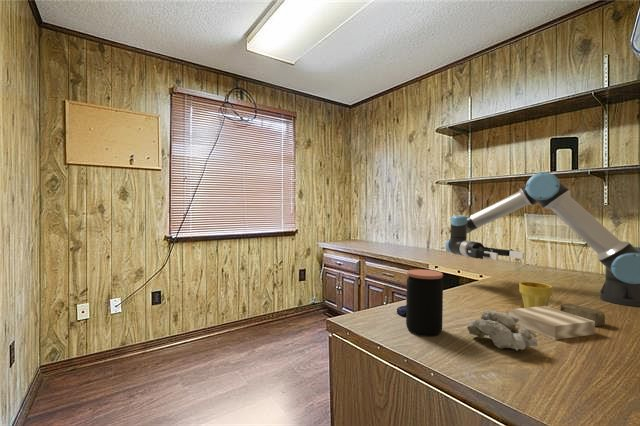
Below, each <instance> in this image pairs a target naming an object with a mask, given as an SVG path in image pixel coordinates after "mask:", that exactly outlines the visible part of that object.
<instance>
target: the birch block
mask: <svg viewBox="0 0 640 426" xmlns="http://www.w3.org/2000/svg"><path fill="white" fill-rule="evenodd" d="M508 315H509V316H511V317H515V318H518V319H519V321H518V322H517V323H516V326H519V327H520V326H523V327H526V328H528V329H529V330H531V331H532V332H534V333H537V334H540V335H541V336H545V337H546V338H550V339H552V340H554V341H555V340H563V339H569V338H571V339H572V338H577V337H578V338H579V337H585V336H591V335H592V336H593V335H595V331H596V330H595V327H596V326H595V321H592V320H589V319H586V318H582V317H579V316H576V315H573V314H569V313H566V312H563V311H560V309H556V308H553V307H549V306H539V307H528V308H525V307H521V308H512V309H511V308H509V309H508Z"/></svg>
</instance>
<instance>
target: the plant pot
mask: <svg viewBox="0 0 640 426" xmlns="http://www.w3.org/2000/svg"><path fill="white" fill-rule="evenodd" d="M518 286H519V289H518V290H519V293H520V294H521V297H522V303H523V306H524V307H523V308H528V307H539V306H547V307H549V306H548V305H549V303H550V299H551V297H552V296H553V286H552V285H550V284H547V283H545V282H544V283H542V282H536V281H521V282H519V285H518Z"/></svg>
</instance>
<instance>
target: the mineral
mask: <svg viewBox="0 0 640 426" xmlns="http://www.w3.org/2000/svg"><path fill="white" fill-rule="evenodd" d="M518 321H519V319H518V318H515V317H511V316H509V314H507V313H506V312H503V311H502V312H501V311H500V312H499V311H498V310H497V311H496V310H493V309H491V310H490V309H485V310H483V311H482V314H481V317H480V318H478V319H473V320H471V322H470V323H469V324H468V325H467V327H466V328H467V330H468V334H469V335H473V336H477V337H478V338H479V339H481V340H482V339H484V338H485V336H489V338H490V339H491V341H492V343H493V344H494V346H495V347H497V349H500V350H503V349H506V348H507V349H509V348H510V349H512V350H516V351H517V352H519V350H525V349H526V347H537V346H538V345H539V344H538V340H537V334H536V332H534V331H532V330H529V329H528V328H526V327H523V326H519V327H516V326H517V324H516V323H517V322H518Z"/></svg>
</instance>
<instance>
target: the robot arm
mask: <svg viewBox="0 0 640 426" xmlns="http://www.w3.org/2000/svg"><path fill="white" fill-rule="evenodd" d="M570 194H571V191H570V189H569V188H568V187H567V186H566V185H565V184H563V183H562V182H561V180H559V178H558V177H557V176H556V175H555V174H553V173H551V172H545V171H544V172H543V171H542V172H538V173H535V174H533V175H531V177H529V179H528V180H527V182H526V184H525V185H524V186H522V187H520V188H519V190H518V191H517V192H515V193H513V194H511V195H509V196H507V197H505V198H503V199H501V200H499V201H497V202H494V203H493V204H490V205H489V206H486V207H485V208H483V209H481V210H478V211H477V212H474V213H473V214H471V215H468V216H465V215H452V216H451V218H450V238H449V239H447V240H446V242H445V249H446V251H447V252H449V253H450V254H454V255H457V256H464V257H466V258H467V259H469V258H472V259H477V260H478V259H480V260H483V259H489V260H493V261H498V259H499V256H502V257H503V256H504V257H509V258H514V259H519V260H525V252H522V251H516V250H514V249H513V248H510V249H501V248H494V247H488V246H484V245H483V243H481V242H478V241H472V240H467V236H468V234H469V233H472V232H473V231H475V230H477V229H479V228H481V227H483V226H485V225H487V224H489V223H491V222H494V221H497V220H498V219H500V218H503V217H504V216H506V215H509V214H511V213H513V212H515V211H517V210H520V209H523V208H524V207H526V206H533V205H536V204H539V205H540V206H541V207H542V208H543V209H545V210H547V209H548V210H551V211H552V212H553V213H554V214H555V215H556V216H557V217H558V218H559V219H560V220H561V221H563V222H564V224H566V225H567V227H569V228H570V229H571V230H572V231H573V232H574V233H576V235H577V236H578V237H579V238H581V240H583V241H584V242H585V243H586V244H587V245H588V246H589V247H590V248H591V249H592V250H594V252H596V253H597V255H598V257H597V260H598V261H599V262H600V263H601V264H603V266H604V267H605V275H604V276H605V278H604V280H605V281H604V282H603V285H602V288H601V289H600V291H599V299H601V300H602V301H605V302H609V303H612V304H617V305H623V306H630V307H640V247H639V246H633V244H631V243H630V242H629V241H623V240H620V239H619V238H618V237H617V236H616V235H615V234H613V233H612V232H611V231H610V230H609V229H608V228H607V227H605V226H604V225H603V224H602V223H601V222H600V221H599V220H598V219H596V218H595V216H593V215H592V214H591V213H590V212H589V211H588V210H586V208H584V207H583V206H582V205H580V203H578V201H576V200H575V199H574V198H573V197H572V196H571V195H570Z"/></svg>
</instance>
